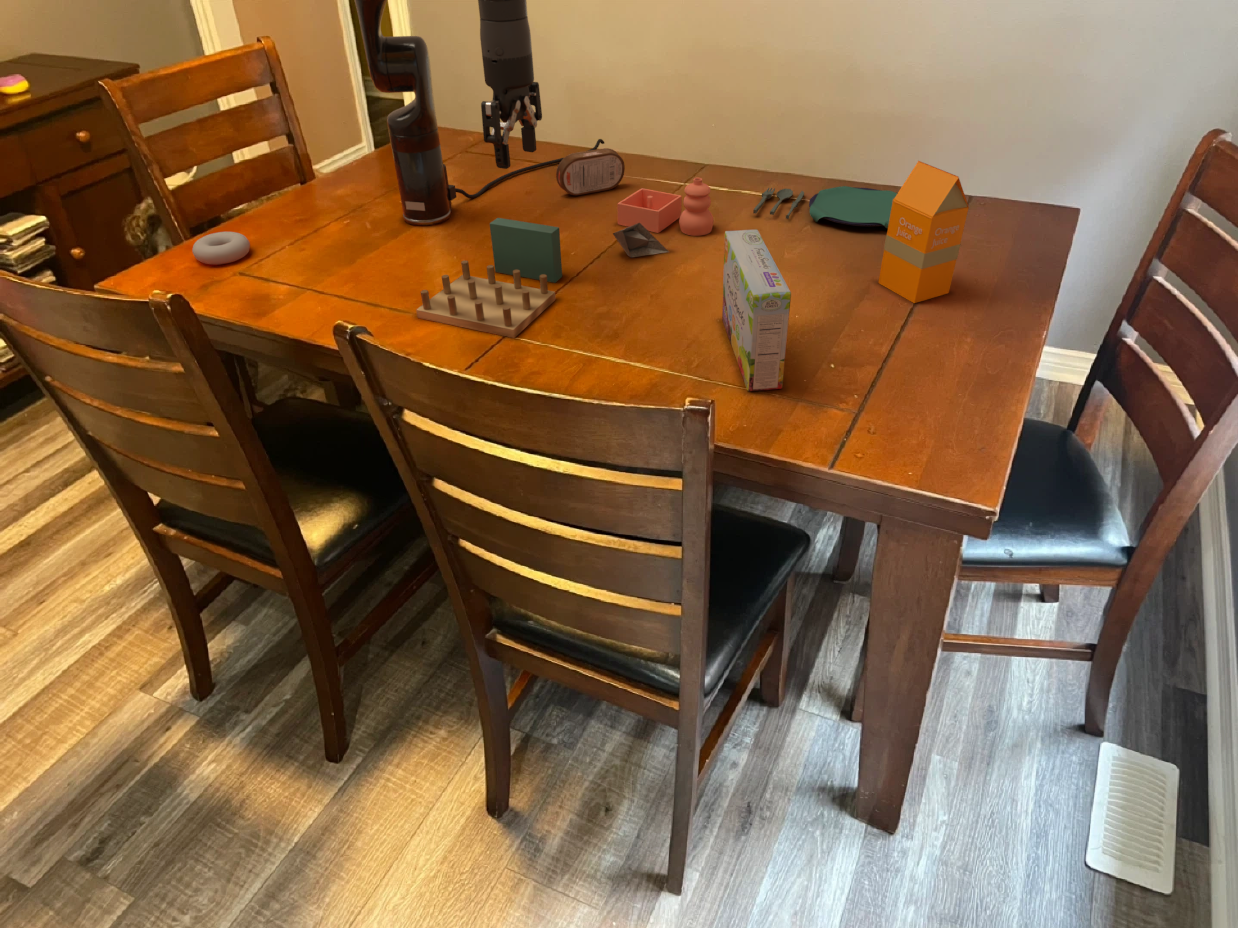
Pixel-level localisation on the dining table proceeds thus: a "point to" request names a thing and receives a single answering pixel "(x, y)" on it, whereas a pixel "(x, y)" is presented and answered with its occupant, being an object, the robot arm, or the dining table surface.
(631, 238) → the paper boat
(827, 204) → the cutlery set
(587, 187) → the tin
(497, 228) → the teal rectangular block
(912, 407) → the dining table surface
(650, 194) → the pottery
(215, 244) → the donut
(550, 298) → the rack
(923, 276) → the orange juice
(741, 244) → the snack box
